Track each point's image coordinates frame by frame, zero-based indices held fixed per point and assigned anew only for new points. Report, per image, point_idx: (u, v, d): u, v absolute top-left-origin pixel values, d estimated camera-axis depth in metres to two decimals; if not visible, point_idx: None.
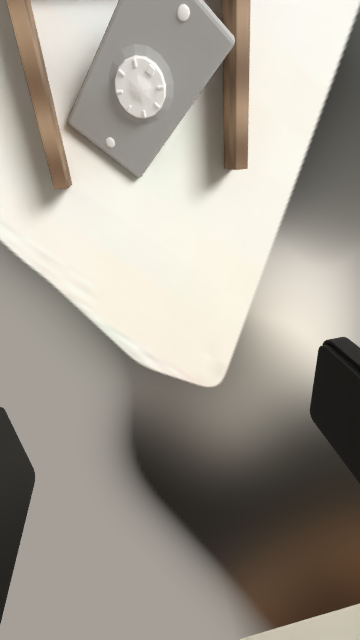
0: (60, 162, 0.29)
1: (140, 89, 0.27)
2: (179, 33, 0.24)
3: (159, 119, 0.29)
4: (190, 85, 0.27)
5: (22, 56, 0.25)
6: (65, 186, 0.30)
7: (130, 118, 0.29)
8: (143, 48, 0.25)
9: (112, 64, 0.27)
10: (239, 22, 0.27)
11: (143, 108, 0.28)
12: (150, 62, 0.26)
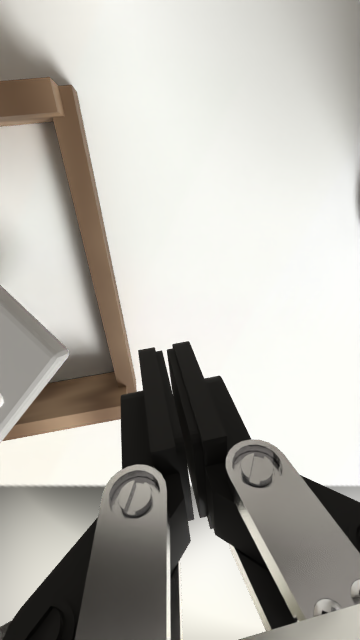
0: None
1: None
2: None
3: None
4: None
5: None
6: None
7: None
8: None
9: None
10: (56, 420, 0.21)
11: None
12: None
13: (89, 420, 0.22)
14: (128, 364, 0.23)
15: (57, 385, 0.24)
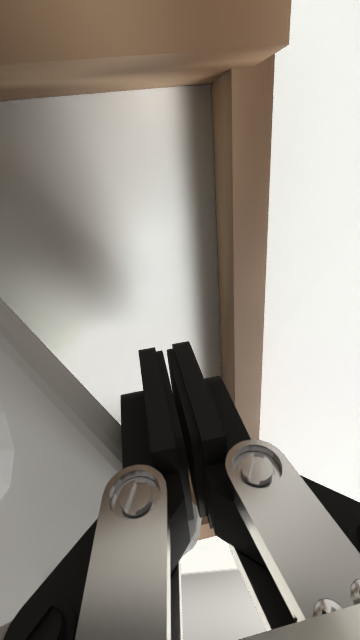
0: None
1: None
2: (29, 572, 0.09)
3: None
4: None
5: None
6: None
7: None
8: (4, 474, 0.09)
9: None
10: None
11: None
12: None
13: (207, 533, 0.15)
14: None
15: None
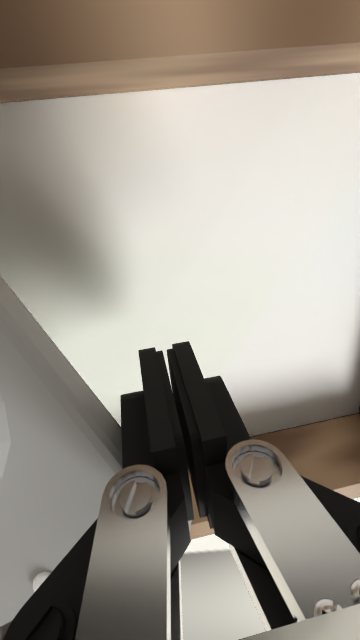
0: (23, 60, 0.06)
1: None
2: (13, 563, 0.09)
3: None
4: None
5: None
6: None
7: None
8: None
9: None
10: None
11: None
12: None
13: None
14: None
15: (289, 435, 0.18)
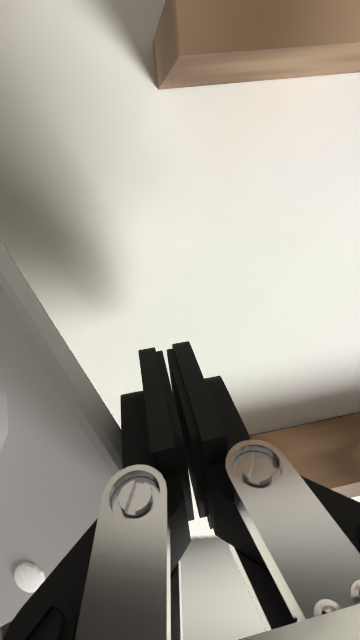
0: (277, 42, 0.07)
1: None
2: None
3: None
4: None
5: None
6: (185, 47, 0.07)
7: None
8: None
9: None
10: None
11: None
12: None
13: None
14: None
15: None
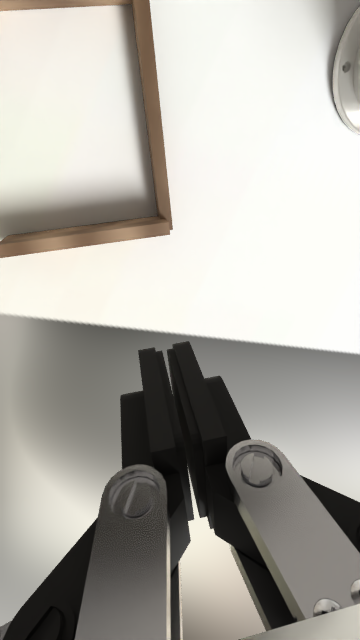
0: None
1: None
2: None
3: None
4: None
5: None
6: None
7: None
8: None
9: None
10: (120, 231, 0.30)
11: None
12: None
13: (142, 234, 0.31)
14: (168, 198, 0.32)
15: (114, 222, 0.33)
